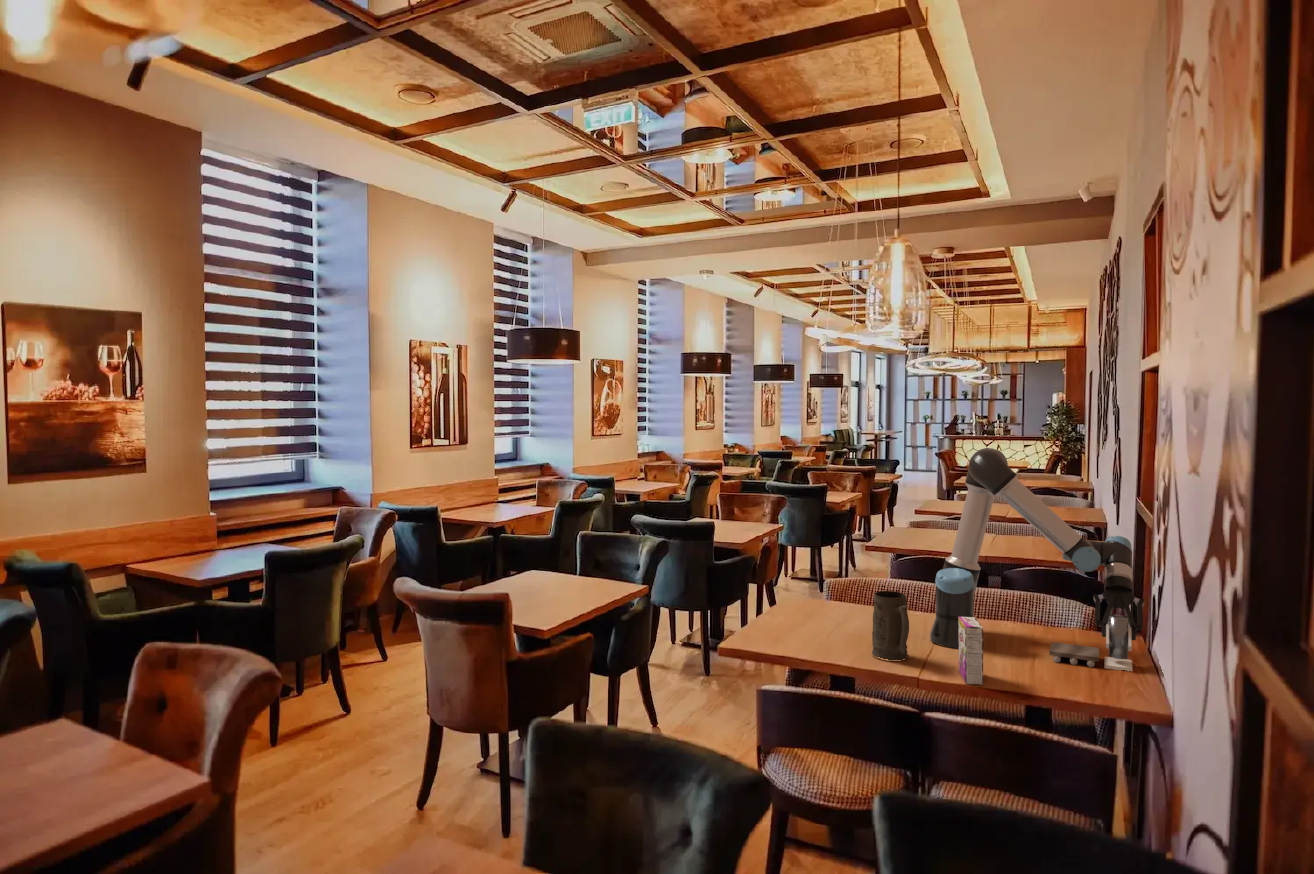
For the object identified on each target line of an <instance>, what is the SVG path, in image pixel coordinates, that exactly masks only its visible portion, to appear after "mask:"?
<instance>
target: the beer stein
mask: <svg viewBox="0 0 1314 874" xmlns="http://www.w3.org/2000/svg"><path fill="white" fill-rule="evenodd" d="M907 600H908V599H907V595H906V594H904V593H902V592H899V591H894V590H893V591H892V590H880V591H877V592H876V591H875V592H874V595H873V612H872V632H871V633H872V634H871V635H872V638H871V640H872V651H871V655H872V654H873V655H874V656H876V657H880V658H883V659H888V660H902V659H905V658H907V657H908V658H909V655H908V644H907V642H908V639H909V632H910V620H909V614H908V605H907V602H908V601H907ZM873 655H872V656H873ZM874 656H873V657H874ZM908 658H907V659H908Z"/></svg>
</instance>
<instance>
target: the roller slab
mask: <svg viewBox="0 0 1314 874" xmlns="http://www.w3.org/2000/svg"><path fill="white" fill-rule="evenodd" d="M1050 643H1051V644H1050V647H1049V651H1048V653H1049V656H1053V657H1052V660H1053V662H1054V663H1056V664H1057V663H1060V662H1061V660H1062V658H1068V659H1069V663H1070V664H1071V665H1073V666H1076V665H1077V664H1078V660H1084V661H1086V665H1087V666H1088V667H1089V668H1094V667H1095V665H1096V662H1100V647H1097V646H1096V647H1095V646H1085V645H1080V644H1079V645H1078V644H1072V643H1064V642H1055V641H1051V642H1050Z"/></svg>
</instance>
